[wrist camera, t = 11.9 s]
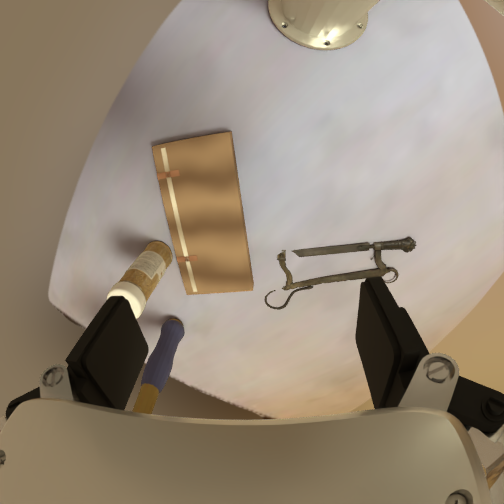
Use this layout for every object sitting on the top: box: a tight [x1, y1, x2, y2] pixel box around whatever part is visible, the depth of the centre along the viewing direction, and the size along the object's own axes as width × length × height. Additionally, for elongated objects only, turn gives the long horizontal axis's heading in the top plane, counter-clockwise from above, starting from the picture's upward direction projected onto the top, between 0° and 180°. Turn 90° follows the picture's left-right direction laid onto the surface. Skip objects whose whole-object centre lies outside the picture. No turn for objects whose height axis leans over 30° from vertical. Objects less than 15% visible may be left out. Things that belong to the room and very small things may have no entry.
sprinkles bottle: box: [107, 241, 172, 319], centre depth 36 cm, size 5×5×13 cm
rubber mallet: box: [132, 319, 184, 414], centre depth 35 cm, size 12×8×30 cm, turn 85°
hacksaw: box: [265, 238, 416, 309], centre depth 42 cm, size 24×10×2 cm, turn 98°
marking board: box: [152, 131, 254, 295], centre depth 38 cm, size 22×10×2 cm, turn 7°
